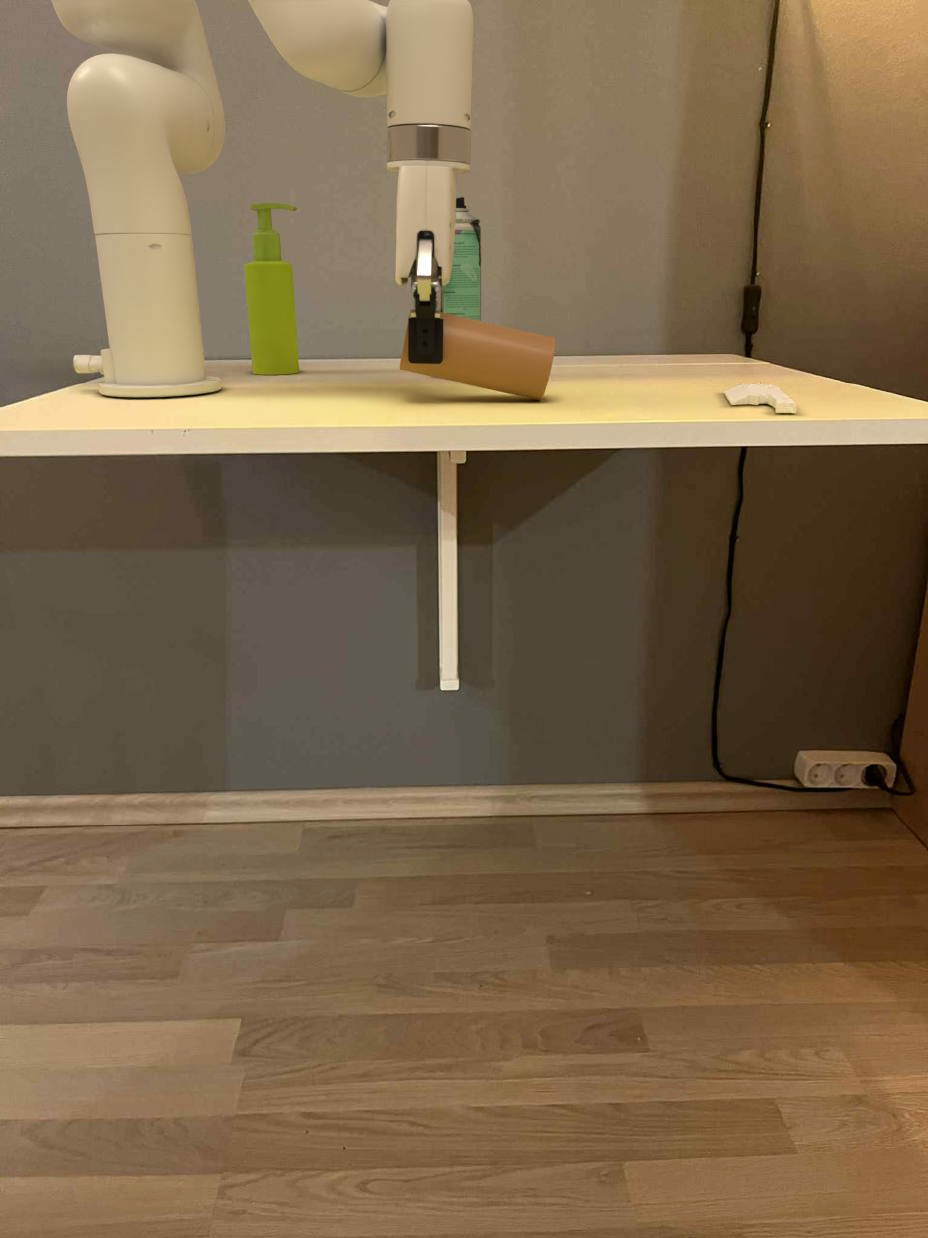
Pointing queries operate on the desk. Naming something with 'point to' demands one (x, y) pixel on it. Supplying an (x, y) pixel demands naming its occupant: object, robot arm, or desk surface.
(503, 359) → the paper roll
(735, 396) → the white curved arc piece
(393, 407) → the desk surface
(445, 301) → the spray can
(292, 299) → the soap dispenser
